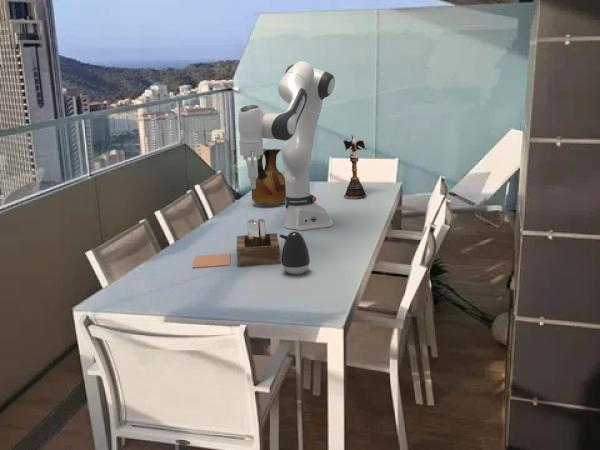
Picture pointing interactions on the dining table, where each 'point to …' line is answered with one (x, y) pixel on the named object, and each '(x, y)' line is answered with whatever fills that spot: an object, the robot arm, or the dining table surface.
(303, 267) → the pump dispenser
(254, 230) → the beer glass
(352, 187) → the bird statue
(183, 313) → the dining table surface
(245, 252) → the walnut box
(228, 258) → the terracotta mat
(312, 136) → the robot arm
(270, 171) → the ceramic pitcher
